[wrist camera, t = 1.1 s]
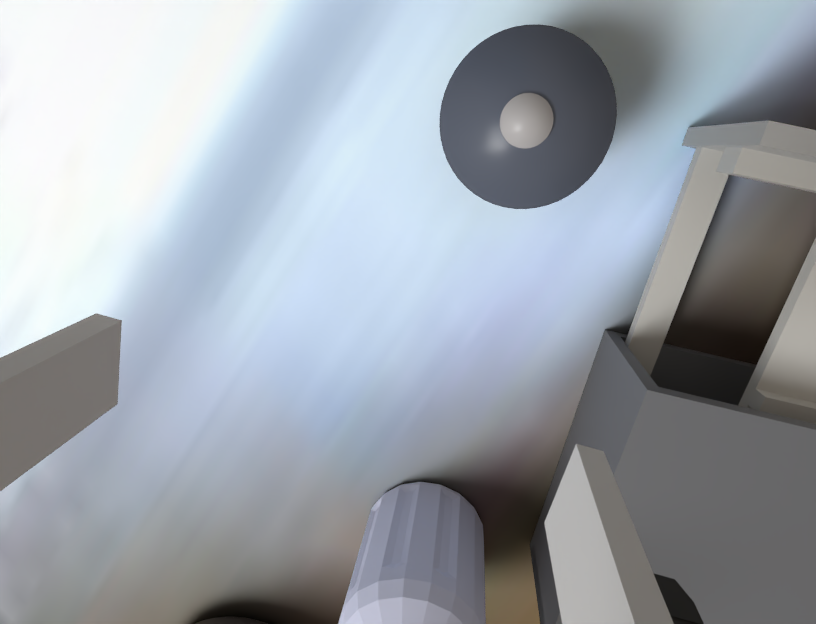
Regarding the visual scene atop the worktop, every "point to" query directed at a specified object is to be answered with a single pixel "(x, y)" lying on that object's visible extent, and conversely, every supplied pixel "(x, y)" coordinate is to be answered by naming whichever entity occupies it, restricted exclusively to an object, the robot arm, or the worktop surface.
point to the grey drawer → (705, 180)
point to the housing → (700, 484)
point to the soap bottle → (419, 561)
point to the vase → (230, 621)
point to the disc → (528, 116)
